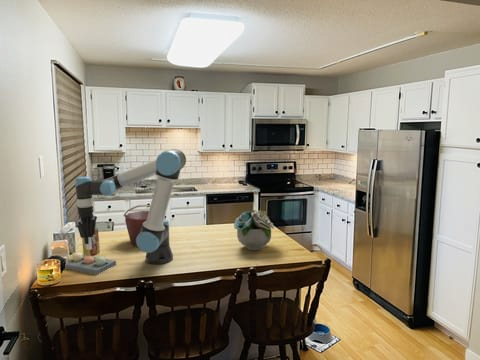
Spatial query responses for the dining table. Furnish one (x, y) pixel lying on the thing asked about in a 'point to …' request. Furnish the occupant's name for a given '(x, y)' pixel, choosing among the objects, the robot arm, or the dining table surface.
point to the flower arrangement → (253, 229)
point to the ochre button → (77, 257)
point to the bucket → (135, 222)
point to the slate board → (89, 266)
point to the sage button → (100, 261)
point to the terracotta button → (88, 260)
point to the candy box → (95, 245)
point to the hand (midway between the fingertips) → (89, 249)
